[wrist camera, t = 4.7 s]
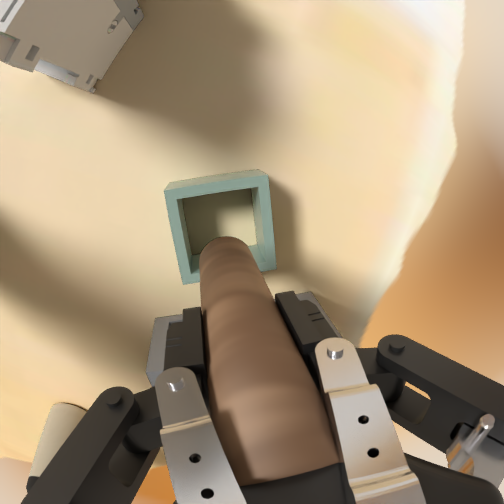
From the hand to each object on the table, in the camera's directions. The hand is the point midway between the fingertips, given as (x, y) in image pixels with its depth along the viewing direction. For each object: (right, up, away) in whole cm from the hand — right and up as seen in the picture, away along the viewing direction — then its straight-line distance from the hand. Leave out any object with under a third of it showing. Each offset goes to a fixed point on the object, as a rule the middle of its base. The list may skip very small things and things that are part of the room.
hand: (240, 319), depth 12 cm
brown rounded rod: (-1, +2, +6) cm, 6 cm away
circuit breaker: (-12, +24, +5) cm, 27 cm away
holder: (-2, +6, +14) cm, 15 cm away
